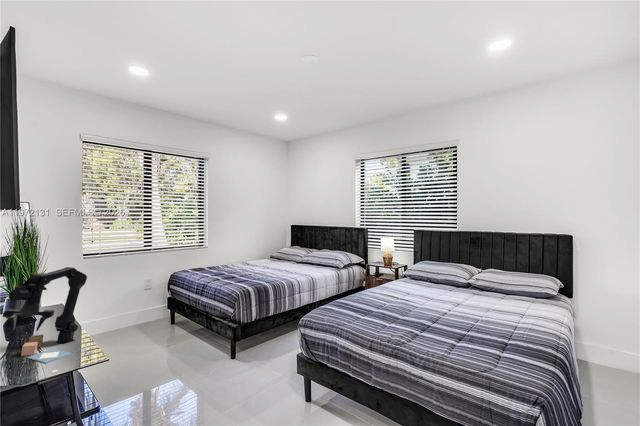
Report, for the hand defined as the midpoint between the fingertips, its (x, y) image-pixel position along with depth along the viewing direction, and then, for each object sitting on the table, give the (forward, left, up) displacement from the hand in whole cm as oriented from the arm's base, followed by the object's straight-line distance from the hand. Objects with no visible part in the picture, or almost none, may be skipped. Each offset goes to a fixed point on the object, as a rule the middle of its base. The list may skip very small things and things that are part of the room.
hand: (25, 331), depth 156 cm
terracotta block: (-6, -4, -14) cm, 16 cm away
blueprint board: (-8, +8, -14) cm, 18 cm away
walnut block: (-14, -12, -14) cm, 23 cm away
